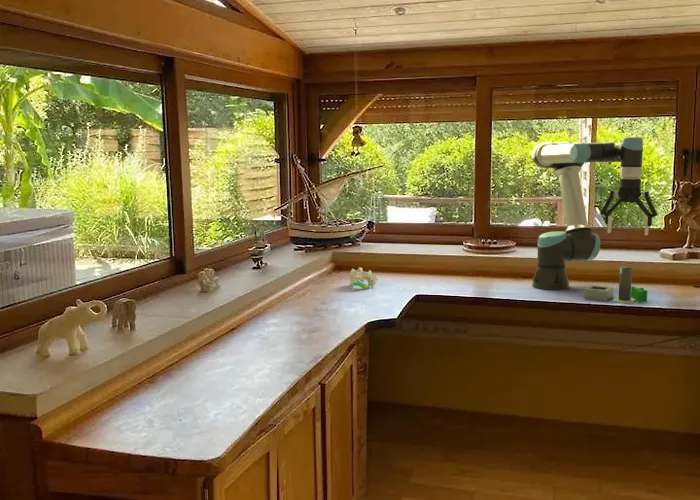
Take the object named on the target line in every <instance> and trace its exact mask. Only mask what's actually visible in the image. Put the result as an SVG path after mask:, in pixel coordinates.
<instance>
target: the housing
mask: <svg viewBox="0 0 700 500" xmlns="http://www.w3.org/2000/svg"><path fill="white" fill-rule="evenodd" d="M613 297H614V287H613V286H604V285H602V286H601V285H596V284H595V285H594V284H590V285H588V286H586V287H585V288H584V289H583V299H584V300H590V301H591V300H592V301H600V302H602V301H603V302H608V301H610V300H612V299H613Z"/></svg>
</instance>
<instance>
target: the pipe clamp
mask: <svg viewBox="0 0 700 500" xmlns="http://www.w3.org/2000/svg"><path fill="white" fill-rule="evenodd" d="M631 298H632V299H636V301H635V302H637V303H638V304H642V303H643V302H647V301H648V290H647V289H645V288H644V287H636V286H634V285H631Z"/></svg>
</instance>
